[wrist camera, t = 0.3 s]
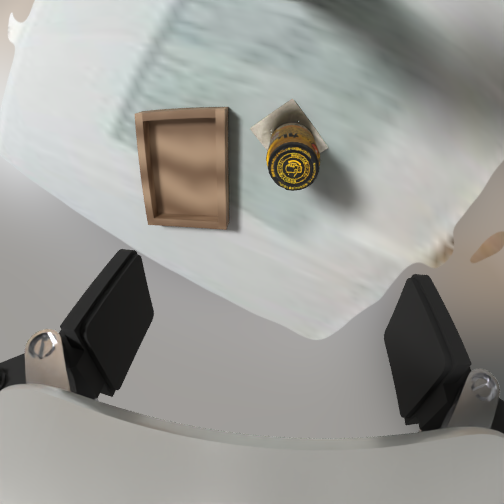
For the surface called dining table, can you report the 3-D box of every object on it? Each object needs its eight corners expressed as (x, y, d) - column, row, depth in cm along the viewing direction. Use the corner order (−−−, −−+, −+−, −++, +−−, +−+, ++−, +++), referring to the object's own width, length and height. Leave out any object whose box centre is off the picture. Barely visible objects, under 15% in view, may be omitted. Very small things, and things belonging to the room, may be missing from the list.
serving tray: (142, 111, 38) (134, 113, 36) (228, 107, 36) (224, 108, 34) (154, 217, 48) (148, 224, 46) (229, 221, 47) (226, 229, 44)
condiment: (286, 174, 41) (285, 210, 31) (249, 128, 38) (235, 148, 28) (328, 147, 38) (343, 174, 28) (292, 98, 35) (295, 106, 25)
